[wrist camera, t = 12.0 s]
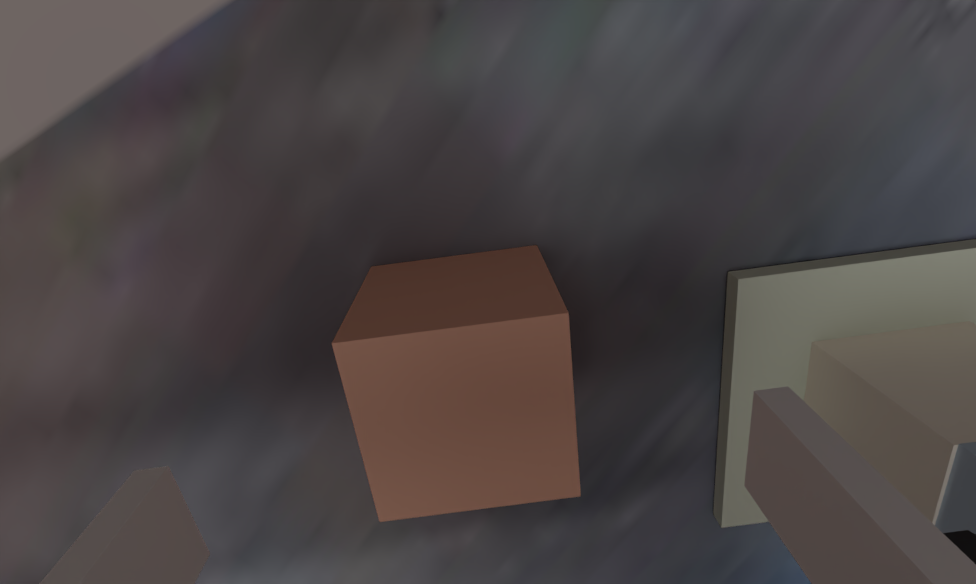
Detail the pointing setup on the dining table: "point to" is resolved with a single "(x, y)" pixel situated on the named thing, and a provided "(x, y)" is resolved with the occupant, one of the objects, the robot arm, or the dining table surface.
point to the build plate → (821, 332)
